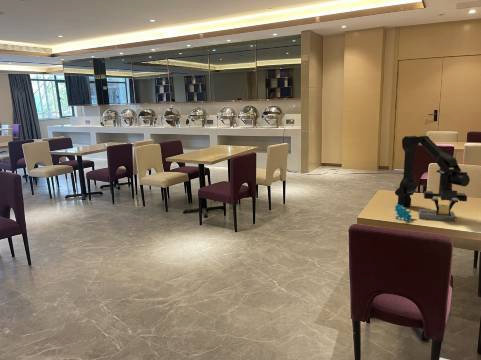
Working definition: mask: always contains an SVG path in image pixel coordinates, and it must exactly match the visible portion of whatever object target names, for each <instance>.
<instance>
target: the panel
mask: <svg viewBox="0 0 481 360" xmlns="http://www.w3.org/2000/svg"><path fill="white" fill-rule="evenodd" d="M418 219H420V220H428V221H429V220H431V221H441V222H442V221H444V222H454V223H456V219H457V218H456V215H455V212H454V211H451V210H450V212H449V216H447V215H438V212H437V209H436V210H435V209H423V208H422V209H421V208H418Z"/></svg>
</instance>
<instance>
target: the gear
mask: <svg viewBox="0 0 481 360" xmlns="http://www.w3.org/2000/svg"><path fill="white" fill-rule="evenodd" d="M394 211H395V213H396V215H397V216H395V219H397V220H398V218H399V219H400V220H401V219H402V218H403V219H402V221H403V222H407V223H409V222H410V221H412V215H411V212H412V211H411V210H410V209H409V210H408V207H404V206H403V205H401V206H400V204H398V205H397V204H396V205H395V206H394Z"/></svg>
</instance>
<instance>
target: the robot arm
mask: <svg viewBox="0 0 481 360" xmlns="http://www.w3.org/2000/svg"><path fill="white" fill-rule="evenodd" d="M419 144H420V145H421V146H422V147H423V148H424V149H425V150H426V151H427V152H428V153H429V154H430V155H431V156H432V157H433V158H434V160H435V161H436V164H437V166H438V167H439V169H437V170H436V173H439V174H440V175H439V184H438V185H439V186H438V193H436V192H435V193H434V192H433V190H425V191H423V199H427V200H431V201H433V202H434V205H435V208H436V210H437V212H438V210H439V207H438V204H439V199H438V198H440V200H441V201H448V202H449V203H448V205H449V212H450V211H451V210H452V209H453V206H454V205H455V204H456V203H459V202H467V201H468V196H467V194H466V193H464V192H463V193H462V192H458V191H457V190H453V185H455V186H460V187H467V186H468V185H469V184H470V181H471V178H470V176H469V175H468V172H467V171H462V169H461V168H460V166H459V163H458V160H457V158H455V157H453V156H452V155H451V154H449V153H447V152H444V151H443V150H442V148H440V147H439V146H438V144H436V143H435V141H433V140H432V139H431V138H430V137H429V135H420V136H417V135H406V136H404V137H402V140H401V147H402V149H403V151H404V162H403V176H402V179H401V180H400V183H399V187H398V188H397V189H396V190H395V191H394V195H395V196H397V203H396V205H398V204H400V206H401V205H403V206H404V207H403V208H405V207H406V208H411V205H412V197H411V196H413V195H414V193H415V192H416V191H417V189H418V187H417V185H418V182H417V180H415V178H414V170H415V169H414V167H415V155H416V154H415V153H416V151H417V150H418V148H419V146H420V145H419Z"/></svg>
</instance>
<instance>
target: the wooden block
mask: <svg viewBox="0 0 481 360" xmlns="http://www.w3.org/2000/svg"><path fill="white" fill-rule="evenodd" d="M438 207H439V210H438V215H447V216H449V204H443V203H442V204H439V203H438Z"/></svg>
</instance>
